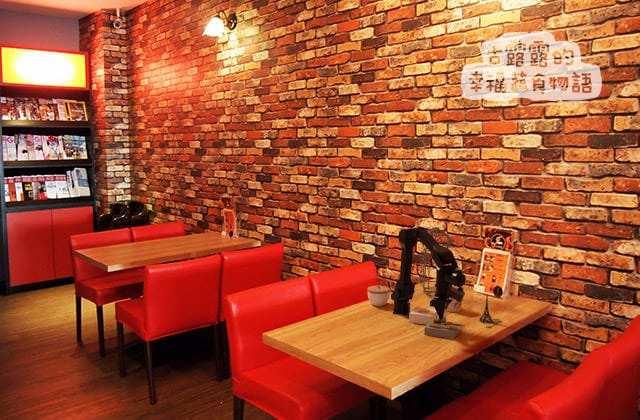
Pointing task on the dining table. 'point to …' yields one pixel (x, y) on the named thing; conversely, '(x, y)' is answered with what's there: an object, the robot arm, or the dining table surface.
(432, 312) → the square hole block
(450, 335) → the socket block
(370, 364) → the dining table surface
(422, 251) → the geometric lantern
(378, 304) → the lidded jar
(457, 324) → the brass guide bars
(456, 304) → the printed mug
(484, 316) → the eiffel tower figurine
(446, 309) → the steel pin
